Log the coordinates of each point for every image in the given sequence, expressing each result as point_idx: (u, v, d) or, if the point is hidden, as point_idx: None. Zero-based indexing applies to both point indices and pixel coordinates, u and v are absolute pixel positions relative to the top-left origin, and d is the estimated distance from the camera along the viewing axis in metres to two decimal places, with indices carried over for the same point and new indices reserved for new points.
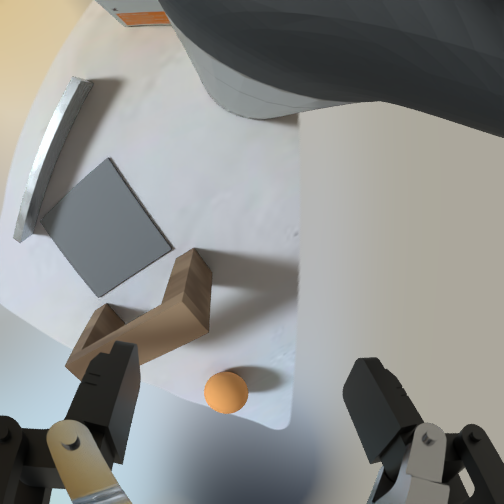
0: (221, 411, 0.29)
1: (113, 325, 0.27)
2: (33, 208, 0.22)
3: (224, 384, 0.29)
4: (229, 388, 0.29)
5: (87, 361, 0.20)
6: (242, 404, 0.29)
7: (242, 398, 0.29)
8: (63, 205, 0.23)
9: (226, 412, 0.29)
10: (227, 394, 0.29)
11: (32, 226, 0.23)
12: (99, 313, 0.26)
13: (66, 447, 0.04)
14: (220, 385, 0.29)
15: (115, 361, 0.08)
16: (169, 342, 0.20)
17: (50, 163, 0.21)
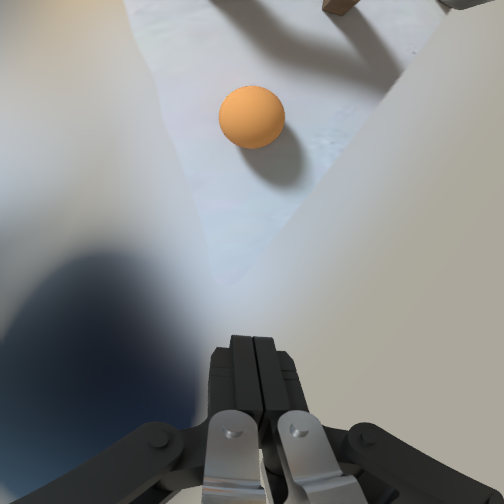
0: (242, 115, 0.19)
1: None
2: None
3: (272, 93, 0.20)
4: (276, 98, 0.19)
5: None
6: (272, 131, 0.20)
7: (280, 122, 0.20)
8: None
9: (247, 122, 0.19)
10: (272, 98, 0.19)
11: None
12: None
13: (236, 436, 0.06)
14: None
15: (242, 353, 0.09)
16: None
17: None
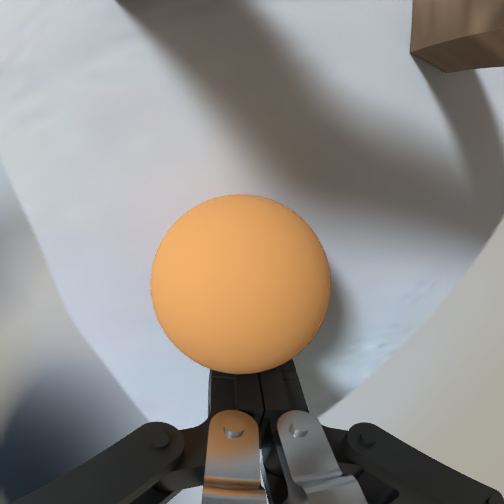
0: (212, 230, 0.06)
1: None
2: None
3: None
4: None
5: None
6: (309, 288, 0.06)
7: (325, 268, 0.07)
8: None
9: (226, 247, 0.06)
10: (291, 211, 0.08)
11: None
12: None
13: (237, 436, 0.06)
14: None
15: None
16: None
17: None
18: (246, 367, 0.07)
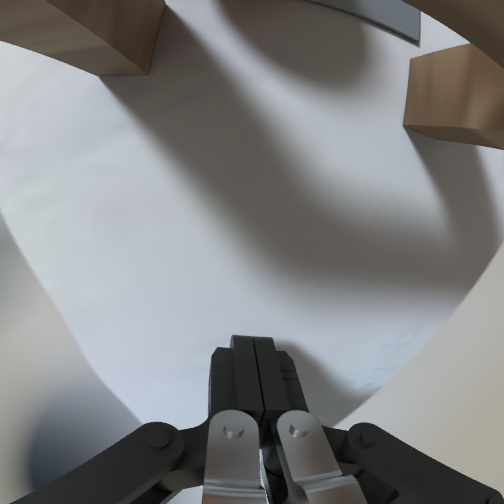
0: None
1: (142, 30, 0.06)
2: None
3: None
4: None
5: None
6: None
7: None
8: None
9: None
10: None
11: None
12: None
13: (237, 436, 0.06)
14: None
15: (242, 353, 0.09)
16: None
17: None
18: None
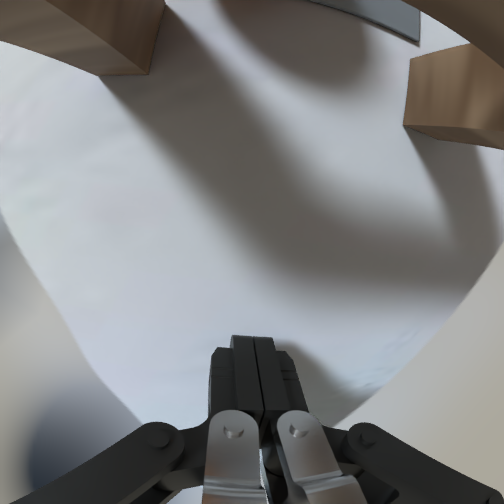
0: None
1: (142, 30, 0.06)
2: None
3: None
4: None
5: None
6: None
7: None
8: None
9: None
10: None
11: None
12: None
13: (237, 436, 0.06)
14: None
15: (242, 353, 0.09)
16: None
17: None
18: None
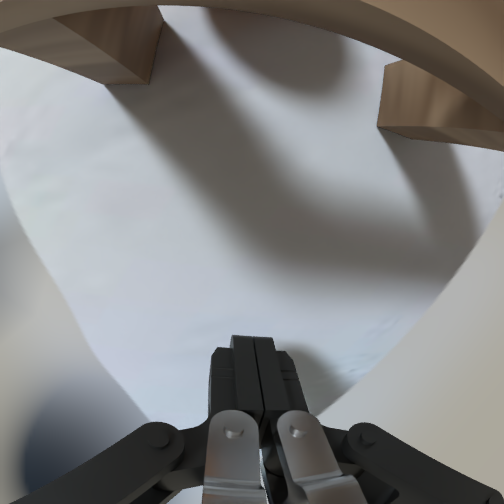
0: None
1: (144, 46, 0.08)
2: None
3: None
4: None
5: None
6: None
7: None
8: None
9: None
10: None
11: None
12: None
13: (237, 437, 0.06)
14: None
15: (242, 353, 0.09)
16: None
17: None
18: None
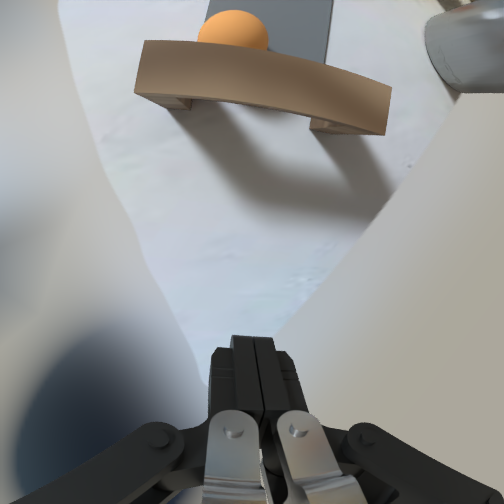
0: (223, 16, 0.14)
1: None
2: None
3: None
4: None
5: (196, 52, 0.12)
6: (255, 32, 0.15)
7: (263, 30, 0.16)
8: None
9: (228, 19, 0.14)
10: (253, 15, 0.16)
11: None
12: None
13: (237, 437, 0.06)
14: None
15: (242, 353, 0.09)
16: (340, 109, 0.14)
17: None
18: None
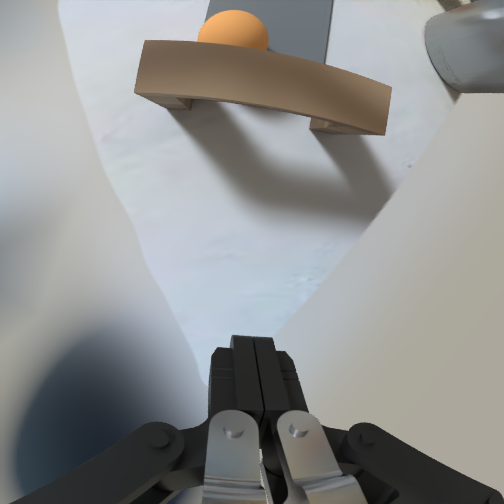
0: (223, 16, 0.14)
1: None
2: None
3: None
4: None
5: (197, 52, 0.12)
6: (255, 32, 0.15)
7: (263, 30, 0.16)
8: None
9: (228, 19, 0.14)
10: (253, 15, 0.16)
11: None
12: None
13: (237, 437, 0.06)
14: None
15: (242, 353, 0.09)
16: (340, 109, 0.14)
17: None
18: None
